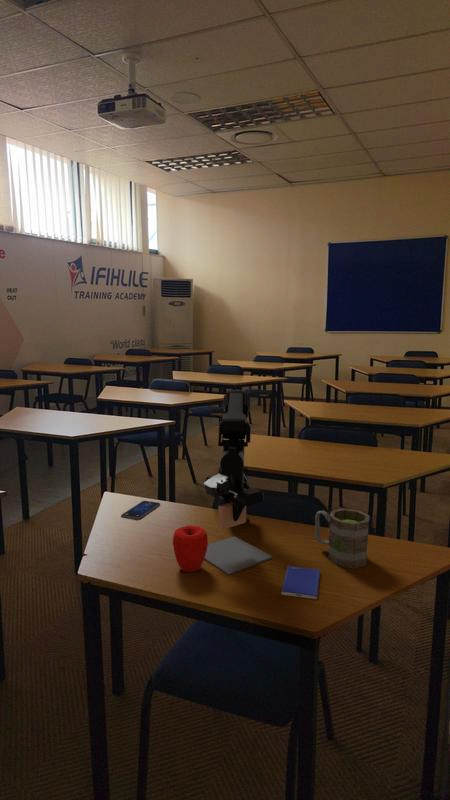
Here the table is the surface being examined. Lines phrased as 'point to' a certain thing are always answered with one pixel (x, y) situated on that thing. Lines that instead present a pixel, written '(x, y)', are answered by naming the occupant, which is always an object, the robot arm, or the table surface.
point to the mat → (234, 555)
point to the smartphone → (140, 510)
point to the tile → (229, 516)
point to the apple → (190, 547)
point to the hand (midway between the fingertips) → (232, 519)
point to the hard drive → (301, 582)
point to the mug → (345, 537)
